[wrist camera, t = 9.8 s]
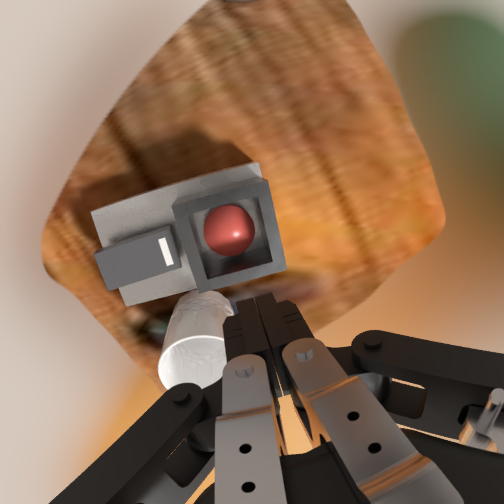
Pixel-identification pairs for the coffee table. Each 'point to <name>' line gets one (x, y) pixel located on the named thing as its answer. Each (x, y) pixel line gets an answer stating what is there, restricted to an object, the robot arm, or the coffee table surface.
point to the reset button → (229, 230)
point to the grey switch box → (197, 231)
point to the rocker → (138, 258)
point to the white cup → (195, 340)
